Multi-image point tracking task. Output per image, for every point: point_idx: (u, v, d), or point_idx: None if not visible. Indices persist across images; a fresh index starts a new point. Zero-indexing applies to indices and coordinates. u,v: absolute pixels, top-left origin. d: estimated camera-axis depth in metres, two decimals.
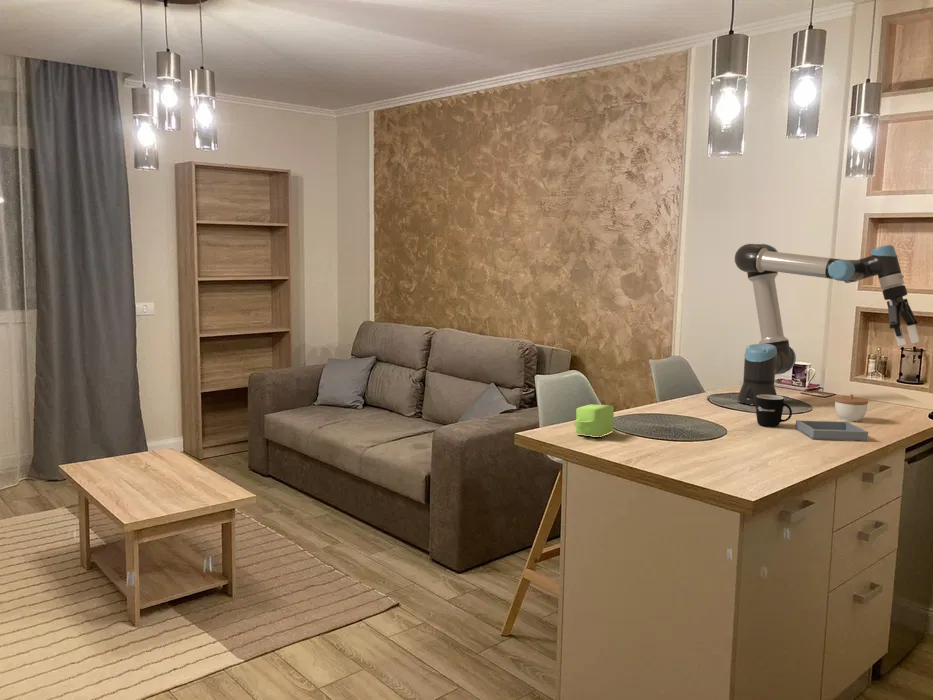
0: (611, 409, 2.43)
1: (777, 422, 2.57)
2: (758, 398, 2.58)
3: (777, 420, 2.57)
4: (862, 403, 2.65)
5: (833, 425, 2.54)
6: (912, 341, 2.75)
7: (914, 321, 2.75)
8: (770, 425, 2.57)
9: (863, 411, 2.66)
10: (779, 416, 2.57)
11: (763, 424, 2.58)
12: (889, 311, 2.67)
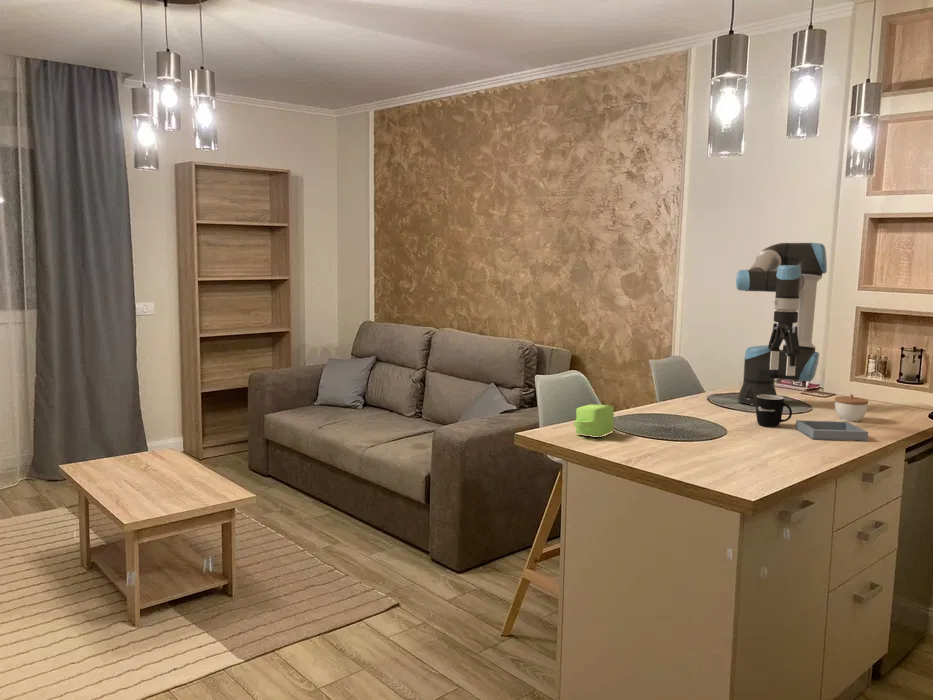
0: (611, 409, 2.43)
1: (777, 422, 2.57)
2: (758, 398, 2.58)
3: (777, 420, 2.57)
4: (862, 403, 2.65)
5: (833, 425, 2.54)
6: None
7: (789, 353, 2.48)
8: (770, 425, 2.57)
9: (863, 411, 2.66)
10: (779, 416, 2.57)
11: (763, 424, 2.58)
12: None
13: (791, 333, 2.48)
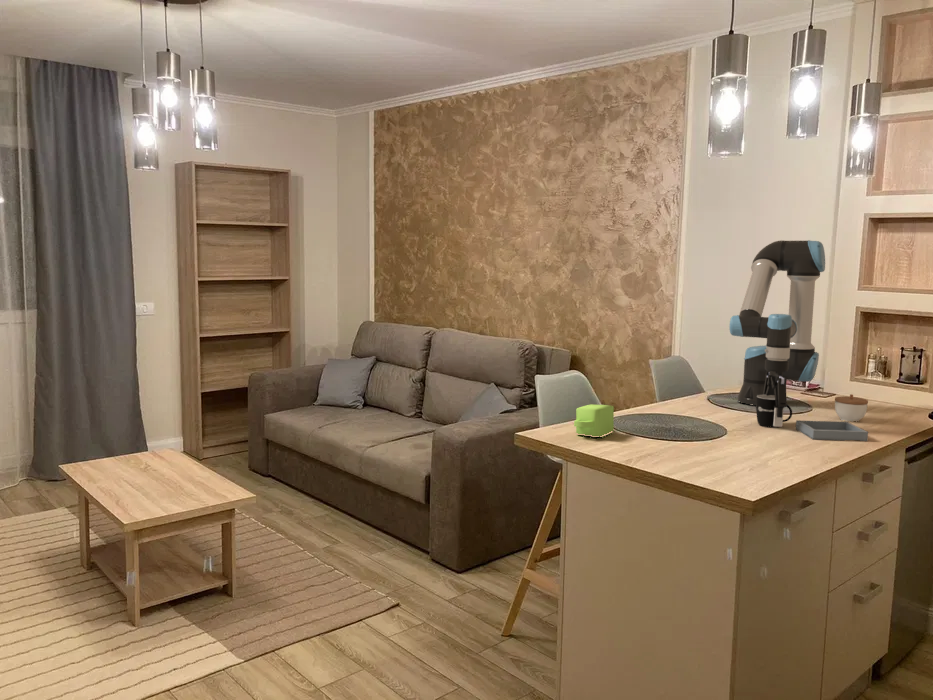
0: (611, 409, 2.43)
1: None
2: (758, 398, 2.58)
3: None
4: (862, 403, 2.65)
5: (833, 425, 2.54)
6: None
7: (776, 405, 2.52)
8: (770, 425, 2.57)
9: (863, 411, 2.66)
10: None
11: (763, 424, 2.58)
12: None
13: (780, 385, 2.51)
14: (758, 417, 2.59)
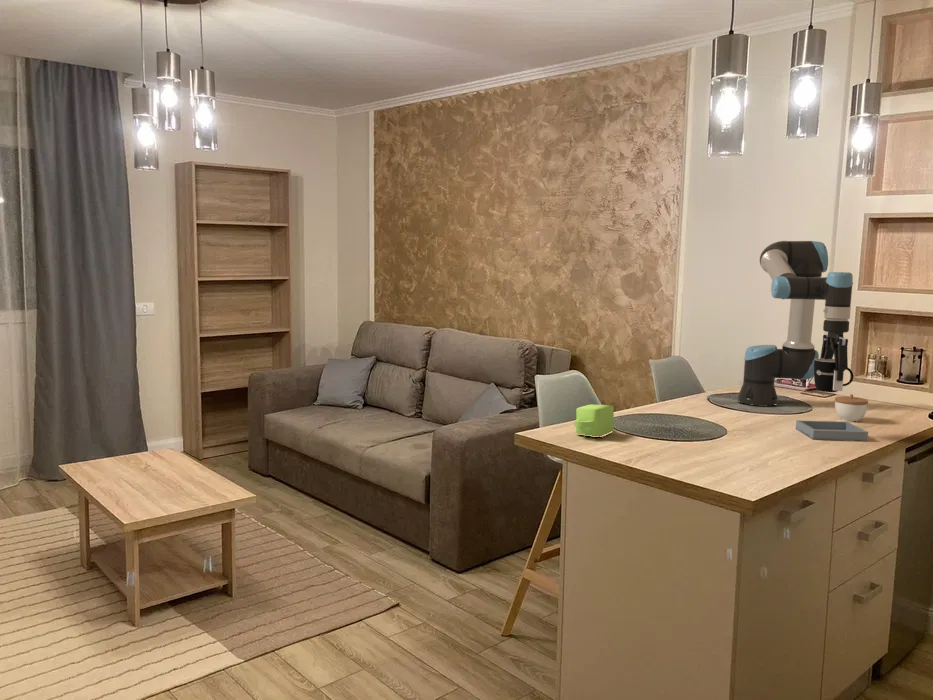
0: (611, 409, 2.43)
1: None
2: (817, 361, 2.44)
3: None
4: (862, 403, 2.65)
5: (833, 425, 2.54)
6: None
7: (837, 367, 2.39)
8: (830, 390, 2.43)
9: (863, 411, 2.66)
10: None
11: (822, 388, 2.44)
12: None
13: (841, 346, 2.38)
14: (816, 381, 2.45)
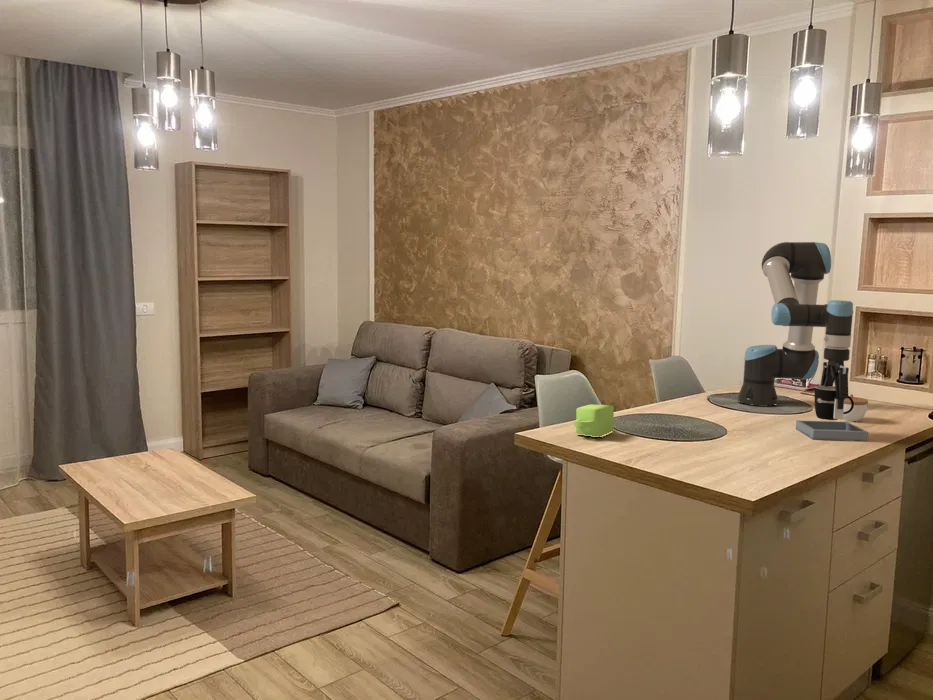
0: (611, 409, 2.43)
1: None
2: (817, 389, 2.45)
3: None
4: (862, 403, 2.65)
5: (833, 425, 2.54)
6: None
7: (837, 396, 2.40)
8: (830, 418, 2.44)
9: (863, 411, 2.66)
10: None
11: (823, 416, 2.45)
12: None
13: (841, 375, 2.39)
14: (817, 409, 2.46)
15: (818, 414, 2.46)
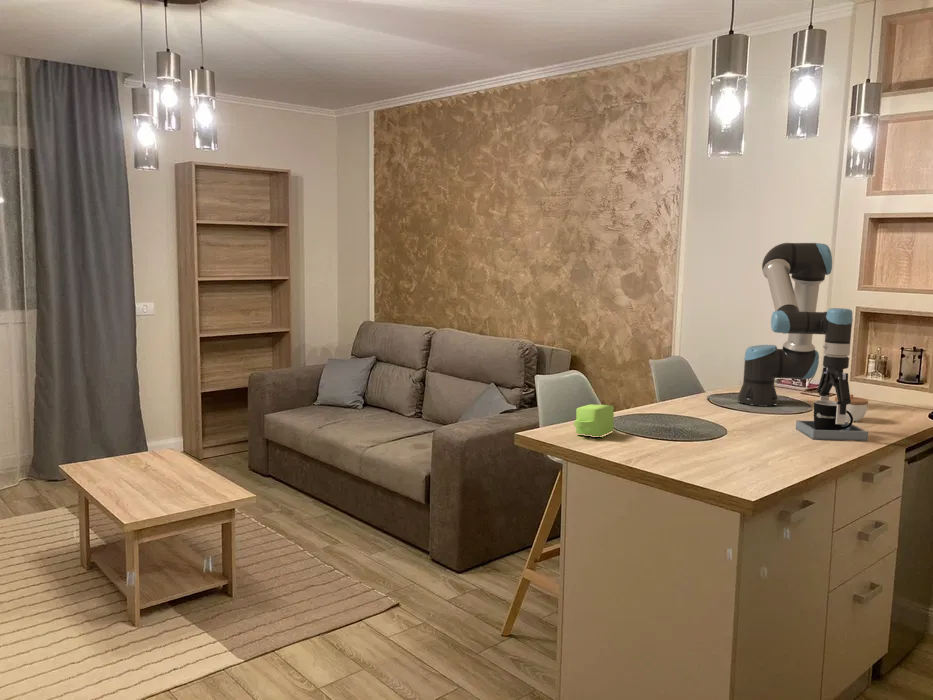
0: (611, 409, 2.43)
1: (837, 429, 2.45)
2: (817, 404, 2.46)
3: (837, 427, 2.44)
4: (862, 403, 2.65)
5: None
6: None
7: (839, 401, 2.38)
8: None
9: (863, 411, 2.66)
10: None
11: None
12: None
13: (841, 380, 2.38)
14: (816, 424, 2.47)
15: (817, 429, 2.47)
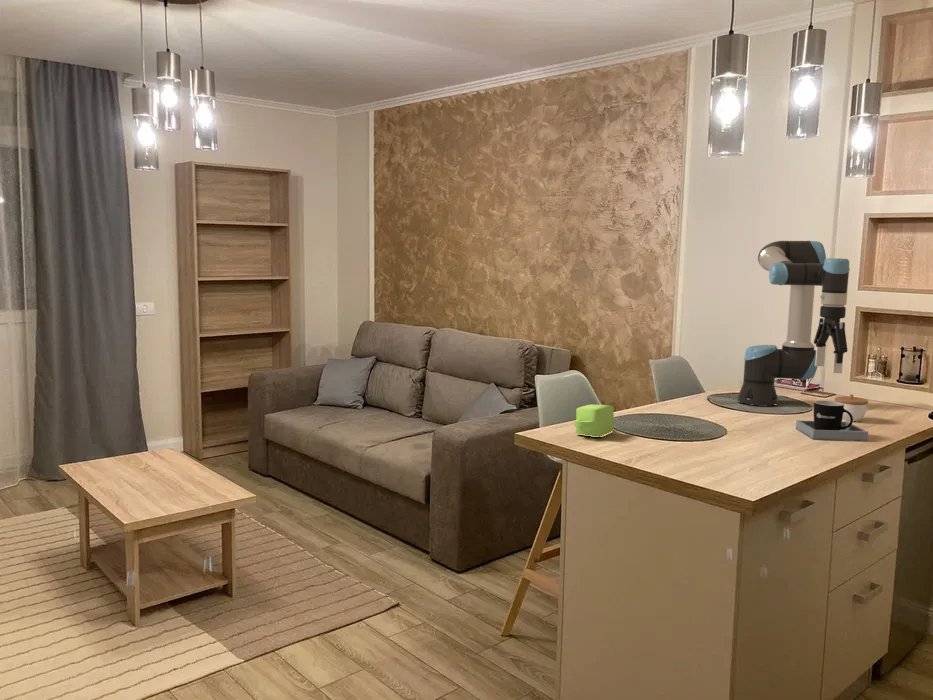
0: (611, 409, 2.43)
1: (837, 429, 2.45)
2: (817, 404, 2.46)
3: (837, 427, 2.44)
4: (862, 403, 2.65)
5: None
6: None
7: (836, 350, 2.40)
8: None
9: (863, 411, 2.66)
10: (839, 423, 2.44)
11: None
12: None
13: (838, 329, 2.39)
14: (816, 424, 2.47)
15: (817, 429, 2.47)
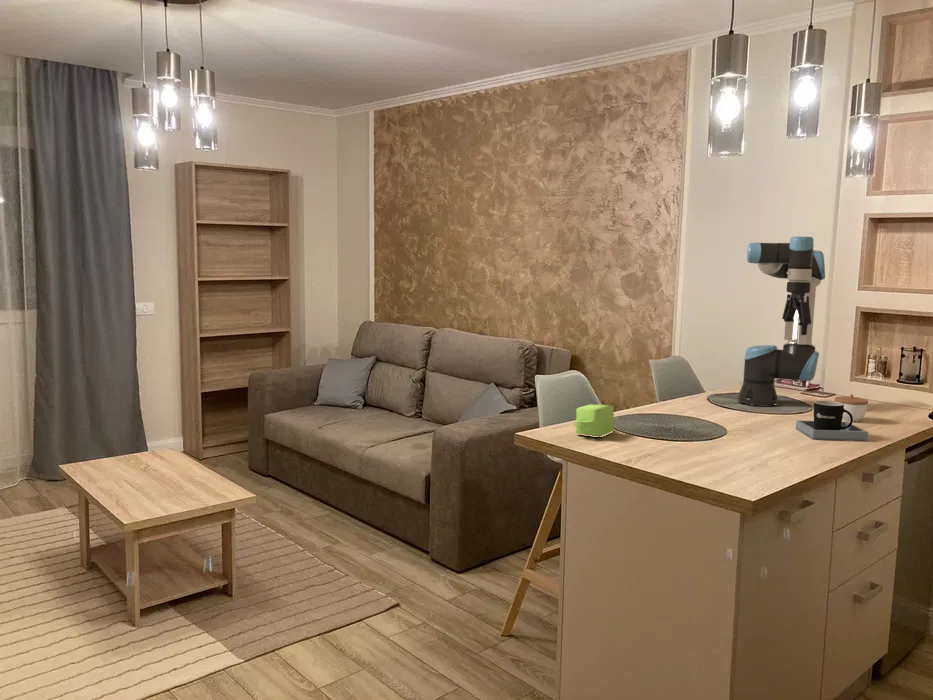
0: (611, 409, 2.43)
1: (837, 429, 2.45)
2: (817, 404, 2.46)
3: (837, 427, 2.44)
4: (862, 403, 2.65)
5: None
6: None
7: (801, 322, 2.54)
8: None
9: (863, 411, 2.66)
10: (839, 423, 2.44)
11: None
12: None
13: (803, 302, 2.54)
14: (816, 424, 2.47)
15: (817, 429, 2.47)
